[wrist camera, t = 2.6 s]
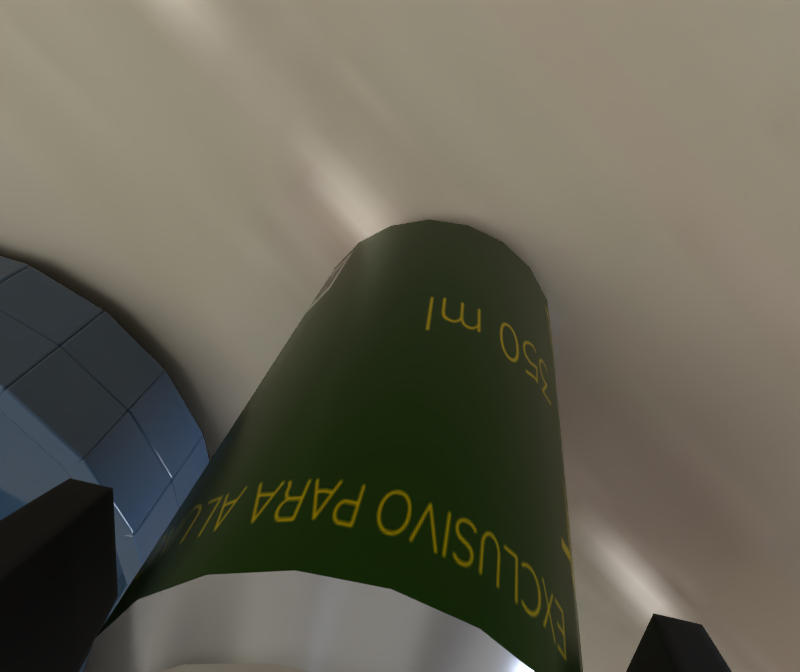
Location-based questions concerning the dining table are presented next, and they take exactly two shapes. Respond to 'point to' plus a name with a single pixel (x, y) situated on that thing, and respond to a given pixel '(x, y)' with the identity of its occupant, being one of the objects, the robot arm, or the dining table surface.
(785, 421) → the dining table surface
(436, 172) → the dining table surface
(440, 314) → the beer can
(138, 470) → the bowl
